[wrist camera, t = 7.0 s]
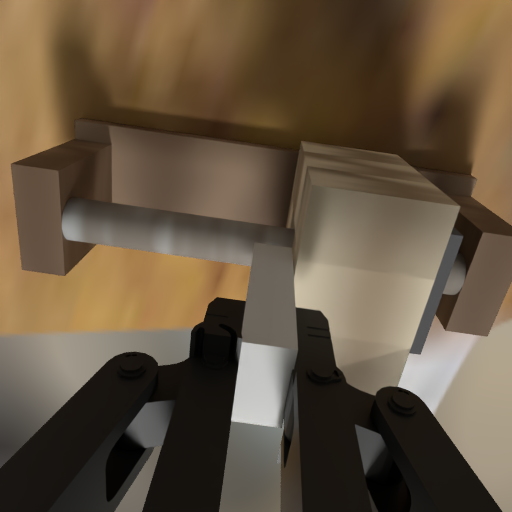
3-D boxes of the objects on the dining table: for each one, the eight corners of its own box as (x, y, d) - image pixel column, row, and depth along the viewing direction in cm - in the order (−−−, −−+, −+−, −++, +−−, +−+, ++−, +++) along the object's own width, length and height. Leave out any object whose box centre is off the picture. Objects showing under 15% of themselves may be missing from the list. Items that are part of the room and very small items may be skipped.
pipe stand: (85, 234, 27) (23, 289, 20) (80, 118, 24) (7, 140, 17) (433, 284, 27) (480, 354, 20) (471, 175, 24) (540, 217, 18)
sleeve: (275, 286, 26) (273, 384, 18) (300, 140, 22) (311, 184, 14) (358, 297, 26) (392, 401, 18) (396, 154, 22) (460, 206, 14)
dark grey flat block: (368, 288, 24) (392, 350, 19) (396, 190, 21) (432, 231, 16) (390, 291, 24) (420, 354, 19) (420, 194, 21) (463, 236, 16)
